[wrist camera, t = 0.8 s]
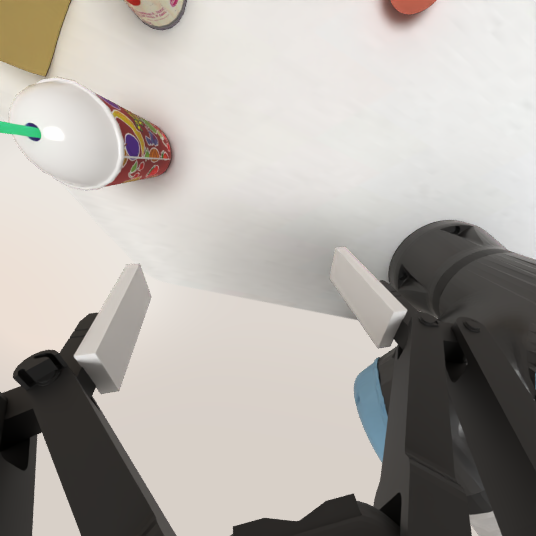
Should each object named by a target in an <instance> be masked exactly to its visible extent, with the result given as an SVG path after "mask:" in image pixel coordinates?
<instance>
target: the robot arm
mask: <svg viewBox="0 0 536 536" xmlns="http://www.w3.org/2000/svg"><path fill="white" fill-rule="evenodd" d="M329 279H330V280H331V282H332V283H333V284H334V286H335V287H336V289H337V290H338V292H339V293H340V295H341V296H342V297H343V299H344V300H345V302H346V303H347V305H348V306H349V308H350V309H351V310H352V312H353V313H354V315H355V316H356V318H357V319H358V321H359V322H360V323H361V325H362V326H363V328H364V329H365V331H366V332H367V333H368V335H369V336H370V338H371V339H372V341H373V342H374V344H375V345H376V347H377V348H384V347H389V346H391V344H392V341H393V339H394V340H395V341H396V342H397V343H398V346H397V347H395V348H394V349H392V350H391V351H389V352H388V353H387V354H385V355H383V356H382V357H381V358H380V357H378V358H376V360H375V361H374V363H373V364H371V365H370V366H369V367H367V368H366V369H365V370H363V371H362V372H361V373H360V374H359V375H358V376H357V378H356V380H355V383H354V397H355V402H356V406H357V410H358V413H359V417H360V419H361V422H362V425H363V427H364V430H365V432H366V434H367V436H368V438H369V440H370V442H371V444H372V446H373V448H374V450H375V452H376V453H377V455H378V457H379V458H380V460H381V462H382V471H381V478H380V483H379V486H378V489H377V492H376V496H375V500H374V506H371V505H368V504H366V503H362V502H360V501H356V499H355V496H354V494H351V495H346V496H343V497H339V498H336V499H332V500H328V501H325V502H324V503H323V504H321V505H320V506H319V507H318V508H316V509H315V510H313V511H312V512H311V513H309V514H308V515H307V516H305V517H304V518H303V519H301V520H300V521H287V520H279V519H269V518H262V519H259V520H255V521H252V522H248V523H244V524H241V525H237V526H233V534H232V535H231V536H472V535H471V526H472V527H473V528H474V530H475V531H476V532H477V534H478V535H479V536H536V260H535V259H532V258H529V257H526V256H523V255H520V254H517V253H514V252H511V251H508V250H507V249H506V248H505V247H504V246H502V245H501V244H500V243H499V242H498V241H497V240H496V239H494V238H493V237H492V236H491V235H490V234H489V233H488V232H486V231H485V230H483V229H482V228H480V227H478V226H475V225H472V224H469V223H465V222H461V221H456V220H445V221H438V222H434V223H431V224H429V225H426V226H424V227H422V228H420V229H418V230H417V231H415V232H414V233H412V234H411V235H410V236H409V237H408V238H406V239H405V240H404V241H403V243H402V244H401V245H400V246H399V248H398V249H397V250H396V252H395V254H394V256H393V258H392V261H391V264H390V268H389V280H390V284H391V285H390V284H388V283H387V282H385V281H378V280H377V279H376V277H375V276H374V275H373V274H372V273H371V272H370V271H369V270H368V269H367V268H366V267H365V266H364V265H363V264H362V263H361V262H360V261H359V260H358V259H357V258H356V257H355V256H354V255H353V254H352V253H351V252H350V251H349V250H348V249H347V248H346V247H335V252H334V257H333V262H332V267H331V272H330V277H329ZM150 299H151V294H150V291H149V289H148V286H147V283H146V280H145V277H144V274H143V271H142V268H141V265H140V263H139V264H127V265H126V267H125V268H124V270H123V272H122V273H121V275H120V277H119V279H118V281H117V282H116V284H115V285H114V287H113V289H112V291H111V293H110V294H109V296H108V298H107V299H106V301H105V303H104V304H103V306H102V308H101V310H100V311H99V313H91V314H88V315H87V316H86V317H85V318H84V319H82V320H81V321H80V322H79V324H78V325H77V327H76V329H75V331H74V332H73V333H72V335H71V336H70V339H68V341H67V343H66V344H65V346H64V347H63V349H62V350H61V352H60V353H58V352H57V351H55V350H46V351H41V352H39V353H36V354H34V355H32V356H30V357H29V358H27V359H25V360H24V361H23V362H22V363H21V364H20V365H18V366H17V368H16V369H15V371H14V373H13V378H14V379H15V380H16V381H17V382H18V383H19V384H20V385H21V386H20V387H17V388H15V389H12V390H9V391H7V392H4V393H1V392H0V536H32V525H33V505H34V485H35V466H36V447H37V434H39V433H41V432H42V433H43V436H44V439H45V441H46V444H47V446H48V449H49V452H50V454H51V457H52V460H53V462H54V465H55V468H56V470H57V473H58V475H59V478H60V481H61V483H62V486H63V489H64V491H65V494H66V497H67V499H68V502H69V504H70V507H71V510H72V512H73V515H74V518H75V520H76V523H77V525H78V528H79V531H80V533H81V536H176V534H175V533H174V531H173V529H172V528H171V526H170V524H169V523H168V521H167V519H166V518H165V516H164V514H163V513H162V511H161V509H160V508H159V506H158V504H157V503H156V501H155V499H154V498H153V496H152V494H151V493H150V491H149V489H148V488H147V486H146V484H145V483H144V481H143V480H142V478H141V476H140V475H139V473H138V471H137V469H136V468H135V466H134V464H133V463H132V461H131V459H130V458H129V456H128V454H127V453H126V451H125V450H124V448H123V446H122V444H121V443H120V442H119V440H118V438H117V436H116V435H115V433H114V431H113V430H112V428H111V426H110V425H109V423H108V421H107V420H106V418H105V416H104V415H103V413H102V411H101V410H100V408H99V406H98V405H97V403H96V401H95V400H94V398H93V397H92V395H93V392H94V390H95V388H97V389H98V391H99V392H100V393H101V394H104V393H110V392H116V391H119V390H120V387H121V384H122V381H123V378H124V375H125V372H126V369H127V366H128V364H129V360H130V358H131V355H132V352H133V349H134V346H135V343H136V341H137V337H138V335H139V332H140V329H141V326H142V323H143V320H144V317H145V314H146V311H147V308H148V306H149V303H150ZM417 310H419V311H421V312H418V311H417ZM435 317H436V318H435ZM437 318H438V319H437ZM470 524H471V526H470Z"/></svg>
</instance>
